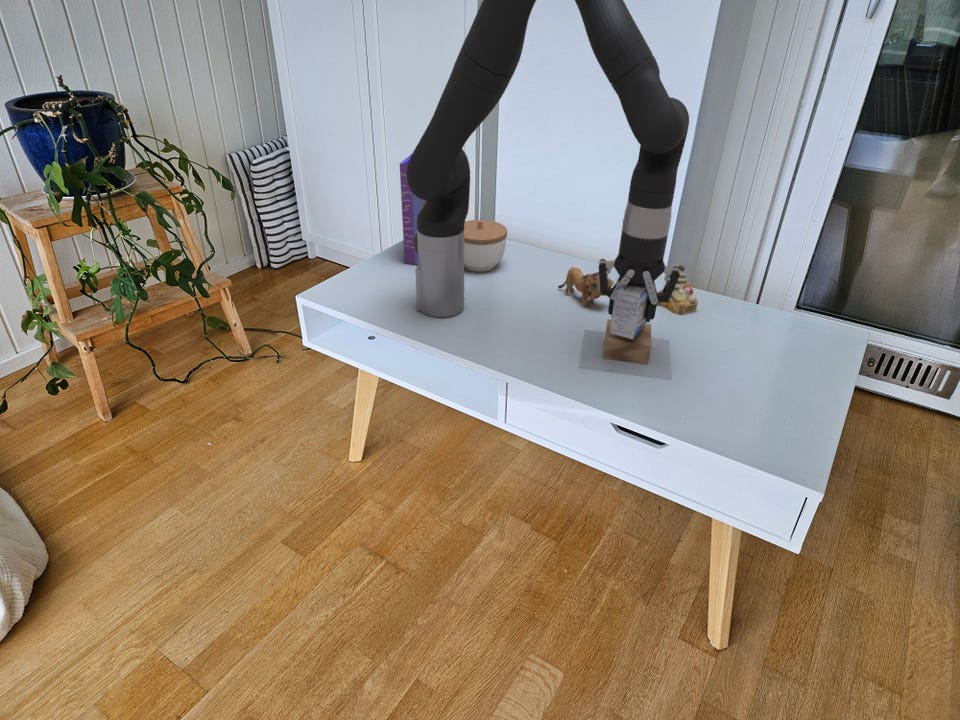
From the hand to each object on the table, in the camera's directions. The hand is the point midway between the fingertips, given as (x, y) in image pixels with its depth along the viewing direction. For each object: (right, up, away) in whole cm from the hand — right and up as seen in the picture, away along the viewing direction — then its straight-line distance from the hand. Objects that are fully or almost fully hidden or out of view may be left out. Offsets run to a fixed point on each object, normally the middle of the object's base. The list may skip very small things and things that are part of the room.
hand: (630, 317), depth 114 cm
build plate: (0, -7, +3) cm, 8 cm away
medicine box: (0, -2, +1) cm, 2 cm away
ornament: (+14, +3, +20) cm, 25 cm away
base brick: (0, -6, +4) cm, 7 cm away
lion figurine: (-5, +5, +22) cm, 23 cm away
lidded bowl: (-27, +15, +38) cm, 49 cm away
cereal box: (-41, +19, +44) cm, 63 cm away
